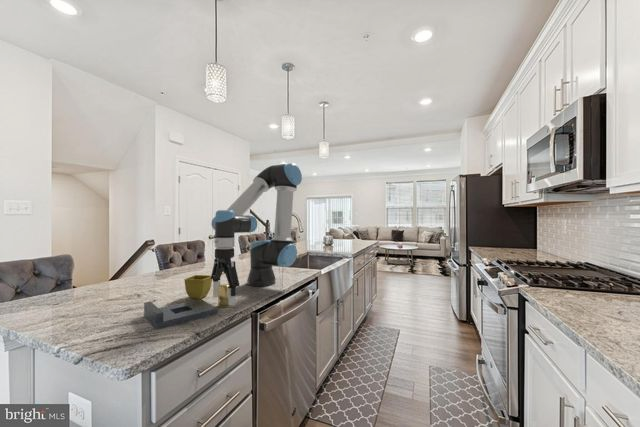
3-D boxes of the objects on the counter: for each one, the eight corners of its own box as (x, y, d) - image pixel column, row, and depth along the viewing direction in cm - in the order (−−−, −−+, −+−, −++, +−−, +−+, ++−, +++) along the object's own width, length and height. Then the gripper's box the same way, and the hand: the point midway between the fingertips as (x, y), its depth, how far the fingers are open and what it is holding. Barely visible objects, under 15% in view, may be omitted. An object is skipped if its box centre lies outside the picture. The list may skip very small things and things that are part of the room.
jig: (200, 303, 110) (200, 291, 110) (217, 313, 99) (217, 300, 99) (144, 316, 96) (144, 302, 96) (156, 329, 85) (156, 313, 85)
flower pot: (213, 294, 123) (213, 275, 123) (202, 300, 114) (202, 279, 115) (195, 294, 124) (195, 274, 124) (183, 300, 115) (183, 279, 115)
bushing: (227, 302, 111) (227, 283, 111) (232, 305, 108) (232, 285, 108) (216, 305, 108) (216, 285, 108) (221, 308, 105) (221, 287, 105)
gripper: (203, 246, 114) (202, 296, 114) (230, 251, 97) (229, 309, 96) (220, 245, 120) (219, 292, 119) (248, 249, 102) (248, 305, 102)
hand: (223, 300), depth 108 cm, fingers open, 13 cm apart
